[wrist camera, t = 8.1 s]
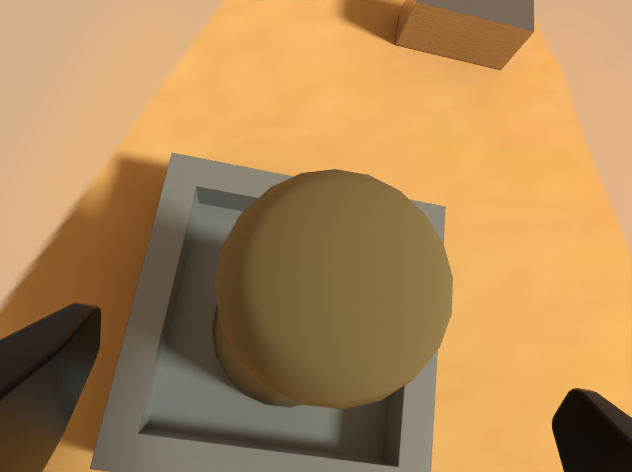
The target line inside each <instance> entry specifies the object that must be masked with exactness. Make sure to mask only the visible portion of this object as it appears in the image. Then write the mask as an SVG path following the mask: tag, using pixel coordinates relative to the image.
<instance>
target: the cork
mask: <svg viewBox="0 0 632 472" xmlns="http://www.w3.org/2000/svg"><path fill="white" fill-rule="evenodd" d="M452 286H453V277H452V273H451V269H450V266H449V262H448V259H447V255H446V251H445V248H444V244H443V242H442V241H441V239H440V237H439V236H438V234H437V232H436V231H435V229H434V228H433V226H432V224H431V223H430V221H429V219H428V218H427V216H426V215H425V213H424V212H422V211H421V210H420V209H419V208H418V207H417V206H416V205H415V204H414V203H413V202H411V201H410V200H409V199H408V198H407V197H406V196H405V195H404V194H403V193H402V192H401V191H399V190H397V189H395V188H393V187H391V186H389V185H387V184H385V183H383V182H381V181H379V180H377V179H375V178H373V177H371V176H369V175H364V174H359V173H353V172H348V171H342V170H337V169H333V170H324V171H316V172H307V173H301V174H299V175H296V176H294V177H292V178H290V179H287V180H285V181H283V182H281V183H279V184H276V185H274V186H272V187H270V188H269V189H268V190H267V191H266V192H265V193H263V194H262V195H261V196H260V197H259V198H258V199H257V200H256V201H255V202H254V203H252V204H251V205H250V206H249V207H248V208H247V209H246V210H245V211H244V212H243V213H241V214H240V215H239V217H238V219H237V220H236V222H235V224H234V226H233V228H232V229H231V231H230V233H229V235H228V237H227V238H226V240H225V242H224V244H223V246H222V248H221V253H220V259H219V264H218V269H217V275H216V280H215V289H216V296H217V303H218V305H217V306H216V311H215V316H214V322H213V327H212V335H213V342H214V350H215V355H216V357H217V359H218V361H219V363H220V365H221V367H222V370H223V372H224V374H225V376H226V377H227V378H228V379H229V380H230V381H231V382H232V383H233V384H234V385H235V386H236V387H237V388H238V389H239V390H240V391H241V392H242V393H243V394H244V395H246V396H248V397H250V398H252V399H255V400H257V401H259V402H261V403H263V404H265V405H272V406H280V407H289V408H290V407H295V406H299V405H310V406H318V407H327V408H335V409H347V408H351V407H356V406H360V405H364V404H369V403H373V402H378V401H381V400H383V399H384V398H386V397H387V396H389V395H390V394H392V393H394V392H395V391H397V390H398V389H400V388H401V387H403V386H404V385H406V384H408V383H409V382H411V381H412V380H413V379H414V378H415V377H416V376H417V375H418V374H419V373H420V372H421V370H422V369H423V368H424V366H425V365H426V364H427V363H428V361H429V360H430V359H431V357H432V356H433V355H434V354H435V352H436V351H437V350H438V349H439V347H440V345H441V342H442V339H443V337H444V334H445V331H446V328H447V325H448V322H449V319H450V317H451V314H452Z"/></svg>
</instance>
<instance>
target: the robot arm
mask: <svg viewBox="0 0 632 472" xmlns="http://www.w3.org/2000/svg"><path fill="white" fill-rule="evenodd" d="M100 330H101V311H100V308H99V307H98V306H95V305H90V304H84V303H73V304H71V305H69V306H67V307H65V308H63V309H61V310H59V311H57V312H55V313H53V314H51V315H49V316H47V317H45V318H43V319H41V320H39V321H37V322H35V323H33V324H31V325H29V326H27V327H25V328H23V329H21V330H19V331H17V332H15V333H13V334H11V335H9V336H7V337H5V338H3V339H1V340H0V472H42V471H43V470H44V468H45V466H46V464H47V463H48V461H49V459H50V457H51V456H52V454H53V452H54V450H55V449H56V447H57V445H58V443H59V441H60V439H61V437H62V436H63V433H64V431H65V429H66V427H67V425H68V422H69V420H70V418H71V415H72V413H73V411H74V408H75V406H76V404H77V401H78V399H79V397H80V394H81V392H82V390H83V387H84V385H85V383H86V380H87V378H88V376H89V373H90V371H91V369H92V366H93V364H94V362H95V359H96V357H97V354H98V351H99V347H100ZM552 430H553V434H554V437H555V441H556V445H557V448H558V452H559V455H560V459H561V463H562V466H563V470H564V472H632V418H631V417H630V416H628V415H627V414H626V413H624V412H623V411H622V410H620V409H619V408H617V407H616V406H615V405H613V404H612V403H611V402H609V401H608V400H606V399H605V398H604V397H602V396H601V395H600V394H598V393H597V392H594V391H591V390H586V389H580V388H574V389H572V390H570V391H569V392H568V393H567V395H566V397H565V398H564V400H563V402H562V403H561V405H560V406H559V408H558V410H557V411H556V413H555V414H554V416H553V419H552Z"/></svg>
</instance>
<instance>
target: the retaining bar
mask: <svg viewBox="0 0 632 472" xmlns="http://www.w3.org/2000/svg"><path fill="white" fill-rule="evenodd" d="M533 32H534V0H405V2H404V4H403V7H402V9H401V11H400V13H399V17H398V27H397V37H396V45H399V46H403V47H407V48H411V49H416V50H420V51H424V52H428V53H432V54H437V55H441V56H445V57H449V58H454V59H458V60H462V61H466V62H470V63H475V64H479V65H483V66H487V67H492V68H496V69H500V70H501V69H502V68H503V67H504V66H505V65H506V64H507V62H508V61H509V60H510V59H511V58H512V57H513V55H514V54H515V53H516V52H517V51H518V50H519V49H520V47H521V46H522V45H523V44H524V43H525V42H526V40H527V39H528V38H529V37H530V36H531V35H532V33H533Z"/></svg>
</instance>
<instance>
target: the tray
mask: <svg viewBox="0 0 632 472" xmlns="http://www.w3.org/2000/svg"><path fill="white" fill-rule="evenodd" d="M292 177H293V176H288V175H283V174H278V173H273V172H268V171H263V170H258V169H253V168H248V167H242V166H237V165H232V164H227V163H222V162H217V161H212V160H207V159H202V158H197V157H192V156H187V155H182V154H177V153H172V154H171V158H170V162H169V165H168V169H167V173H166V177H165V181H164V185H163V189H162V192H161V196H160V200H159V204H158V208H157V212H156V216H155V219H154V223H153V227H152V231H151V235H150V239H149V243H148V246H147V250H146V254H145V258H144V262H143V266H142V270H141V273H140V277H139V281H138V285H137V289H136V293H135V297H134V300H133V304H132V308H131V312H130V316H129V320H128V323H127V327H126V331H125V335H124V339H123V343H122V347H121V350H120V354H119V358H118V362H117V366H116V370H115V374H114V377H113V381H112V385H111V389H110V393H109V397H108V401H107V404H106V408H105V412H104V416H103V420H102V424H101V428H100V431H99V435H98V439H97V443H96V447H95V451H94V455H93V458H92V462H91V466H90V469H93V470H101V471H110V472H431V462H432V444H433V426H434V407H435V389H436V371H437V353H438V350H437V351H436V352H435V354H434V355H433V356H432V357H431V359H430V360H429V361H428V363H427V364H426V365H425V366H424V368H423V369H422V370H421V372H420V373H419V374H418V375H417V376H416V377H415V378H414V379H413V380H412V381H411V382H409V383H408V384H406V385H404V386H403V387H401V388H400V389H398V390H397V391H395V392H394V393H392V394H390V395H389V396H387V397H386V398H384V399H383V400H381V401H378V402H373V403H369V404H364V405H360V406H356V407H351V408H347V409H335V408H327V407H318V406H310V405H299V406H295V407H290V408H289V407H280V406H272V405H265V404H263V403H261V402H259V401H257V400H255V399H252V398H250V397H248V396H246V395H244V394H243V393H242V392H241V391H240V390H239V389H238V388H237V387H236V386H235V385H234V384H233V383H232V382H231V381H230V380H229V379H228V378H227V377H226V376H225V374H224V372H223V370H222V367H221V365H220V363H219V361H218V359H217V357H216V355H215V350H214V342H213V335H212V327H213V322H214V316H215V311H216V306H217V305H218V303H217V296H216V289H215V280H216V275H217V269H218V264H219V259H220V253H221V248H222V246H223V244H224V242H225V240H226V238H227V237H228V235H229V233H230V231H231V229H232V228H233V226H234V224H235V222H236V220H237V219H238V217H239V215H240V214H241V213H243V212H244V211H245V210H246V209H247V208H248V207H249V206H250V205H251V204H252V203H254V202H255V201H256V200H257V199H258V198H259V197H260V196H261V195H262V194H263V193H265V192H266V191H267V190H268V189H269V188H270V187H272V186H274V185H276V184H279V183H281V182H283V181H285V180H287V179H290V178H292ZM410 201H411V202H413V203H414V204H415V205H416V206H417V207H418V208H419V209H420V210H421V211H422V212H424V213H425V215H426V216H427V218H428V219H429V221H430V223H431V224H432V226H433V228H434V229H435V231H436V232H437V234H438V236H439V237H440V239H441V241H442V242H443V244H444V225H445V206H440V205H435V204H430V203H425V202H420V201H415V200H410Z"/></svg>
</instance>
